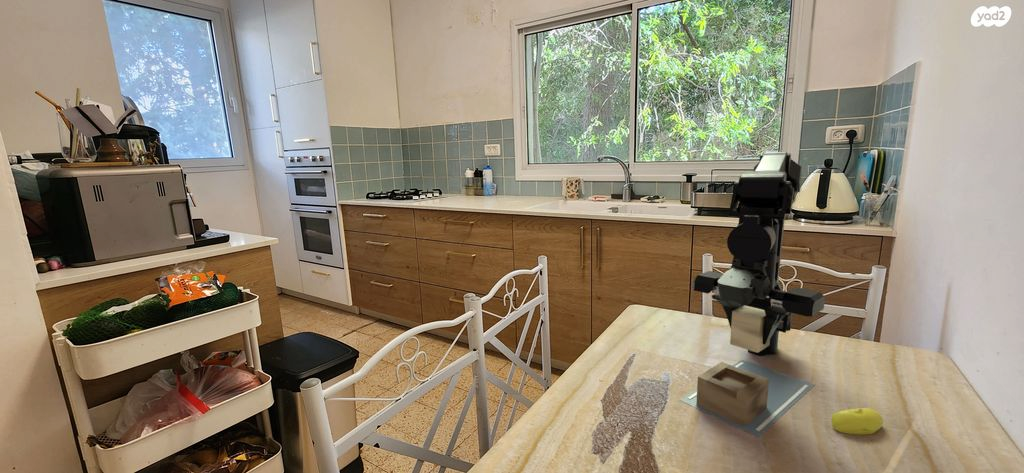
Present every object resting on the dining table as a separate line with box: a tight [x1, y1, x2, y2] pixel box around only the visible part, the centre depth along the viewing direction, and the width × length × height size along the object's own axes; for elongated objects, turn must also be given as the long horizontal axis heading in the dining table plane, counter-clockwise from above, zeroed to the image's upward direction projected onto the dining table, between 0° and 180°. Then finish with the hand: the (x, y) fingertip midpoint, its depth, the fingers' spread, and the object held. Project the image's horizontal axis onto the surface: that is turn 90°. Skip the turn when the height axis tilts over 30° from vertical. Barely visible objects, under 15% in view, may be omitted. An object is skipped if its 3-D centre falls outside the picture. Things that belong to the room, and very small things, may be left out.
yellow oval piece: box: [831, 407, 884, 435], centre depth 66 cm, size 4×8×4 cm, turn 94°
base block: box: [696, 361, 769, 427], centre depth 72 cm, size 8×8×5 cm
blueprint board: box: [679, 359, 816, 438], centre depth 76 cm, size 23×13×1 cm, turn 127°
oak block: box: [729, 305, 770, 353], centre depth 73 cm, size 4×4×6 cm
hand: (749, 339), depth 73 cm, fingers closed on oak block, 4 cm apart
